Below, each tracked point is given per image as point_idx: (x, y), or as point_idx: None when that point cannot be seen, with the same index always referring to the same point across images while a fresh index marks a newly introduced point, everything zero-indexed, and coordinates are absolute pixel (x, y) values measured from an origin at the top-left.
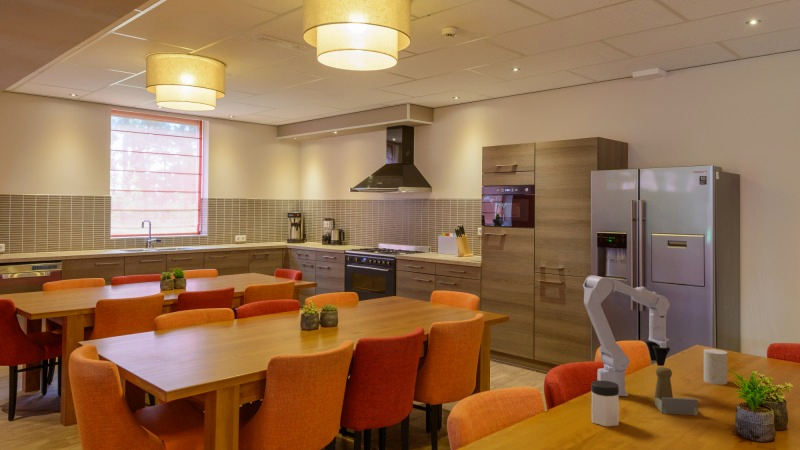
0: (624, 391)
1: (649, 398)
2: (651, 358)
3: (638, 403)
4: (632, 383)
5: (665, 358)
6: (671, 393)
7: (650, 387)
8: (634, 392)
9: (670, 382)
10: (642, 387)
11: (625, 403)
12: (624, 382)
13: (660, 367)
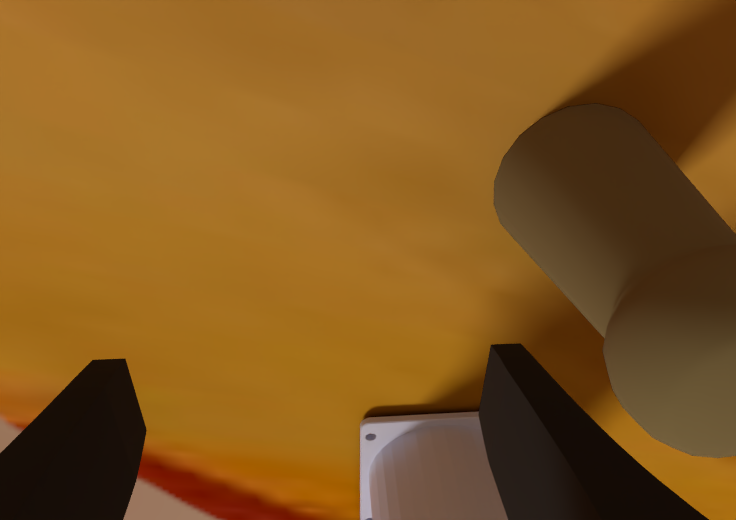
0: (481, 440)
1: None
2: (135, 463)
3: None
4: (129, 329)
5: (619, 446)
6: (670, 158)
7: (220, 210)
8: (408, 357)
9: (720, 219)
10: (242, 277)
11: None
12: (502, 503)
13: (726, 439)
